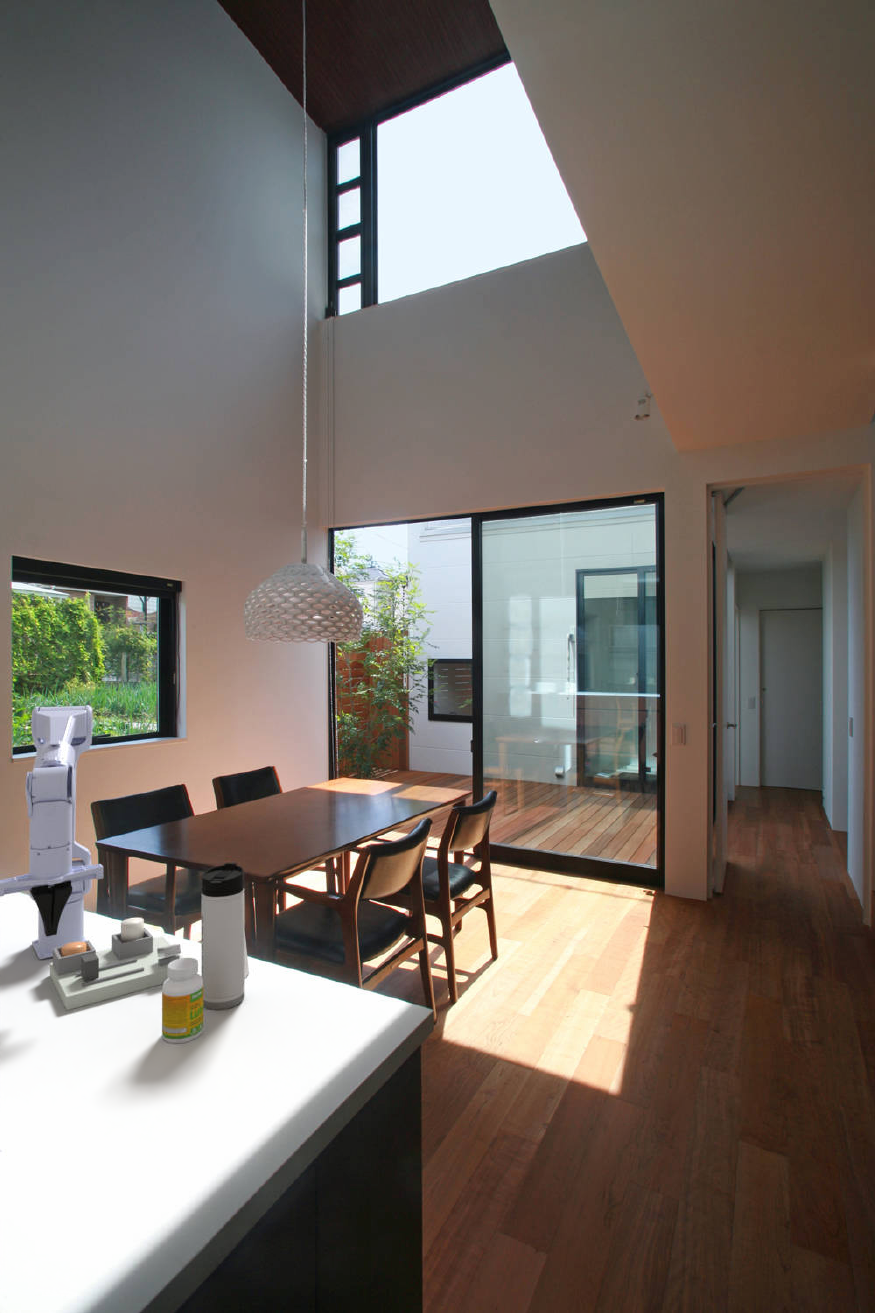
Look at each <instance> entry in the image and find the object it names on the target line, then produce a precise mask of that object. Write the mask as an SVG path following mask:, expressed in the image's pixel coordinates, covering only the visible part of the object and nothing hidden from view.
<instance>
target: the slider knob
mask: <svg viewBox="0 0 875 1313" xmlns="http://www.w3.org/2000/svg"><path fill="white" fill-rule="evenodd" d="M81 976H82V978H83V980H84V981H89V980H93V979H97V978H99V958H98V957H97V955H96V954H95V953H93V954H88V955H84V956H81Z"/></svg>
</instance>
